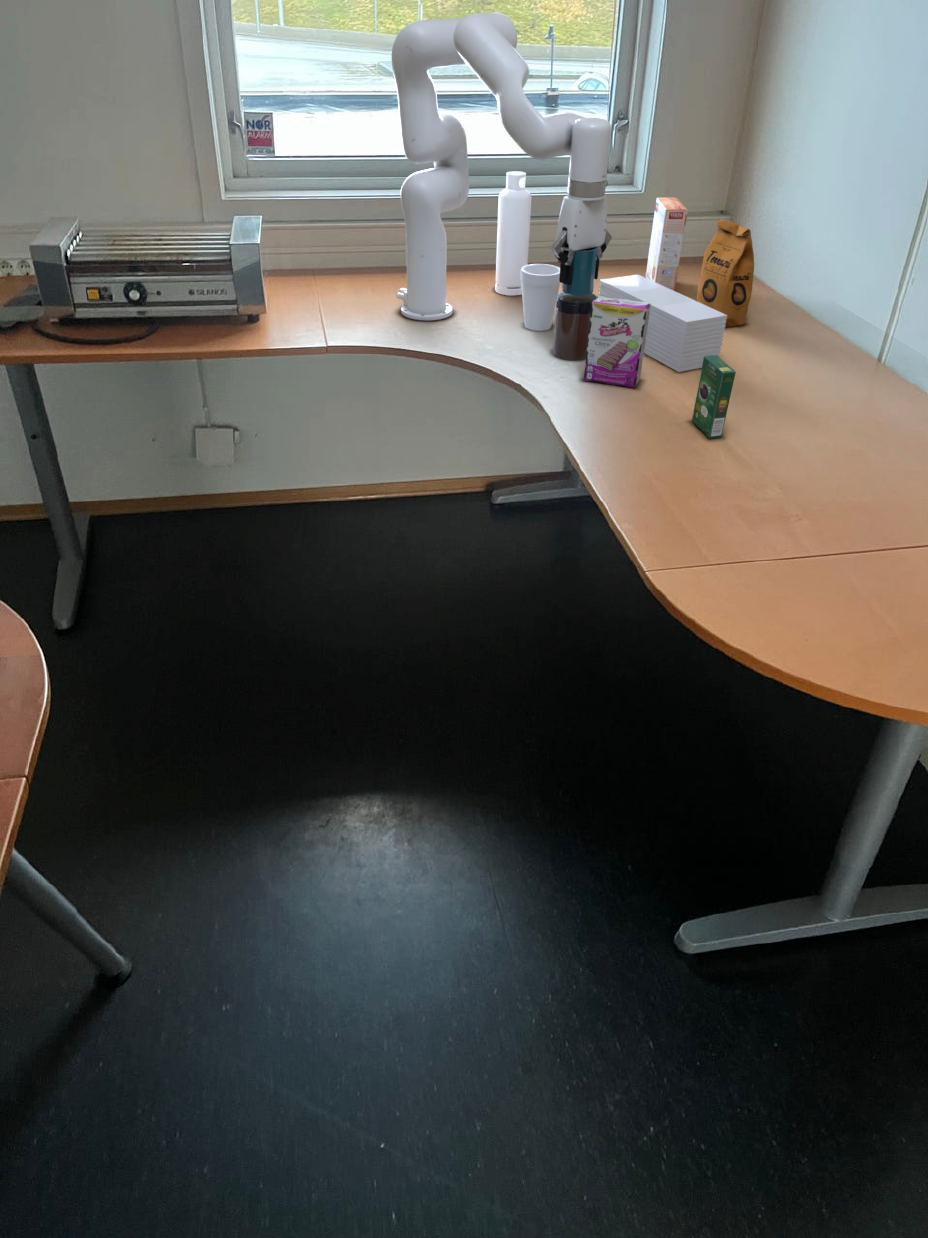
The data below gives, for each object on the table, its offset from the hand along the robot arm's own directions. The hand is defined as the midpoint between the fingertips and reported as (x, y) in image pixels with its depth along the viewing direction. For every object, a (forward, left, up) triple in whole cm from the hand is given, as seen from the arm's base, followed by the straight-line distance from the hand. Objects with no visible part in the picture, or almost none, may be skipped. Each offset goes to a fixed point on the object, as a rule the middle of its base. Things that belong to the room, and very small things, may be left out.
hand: (578, 279), depth 193 cm
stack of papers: (+11, +17, -16) cm, 26 cm away
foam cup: (-16, +10, -16) cm, 25 cm away
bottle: (-37, +28, -16) cm, 49 cm away
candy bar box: (+15, -8, -16) cm, 24 cm away
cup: (0, 0, -2) cm, 2 cm away
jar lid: (0, 0, -4) cm, 4 cm away
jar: (0, 0, -16) cm, 16 cm away
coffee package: (+15, +43, -16) cm, 48 cm away
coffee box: (+41, -17, -16) cm, 47 cm away
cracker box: (-9, +57, -16) cm, 60 cm away
